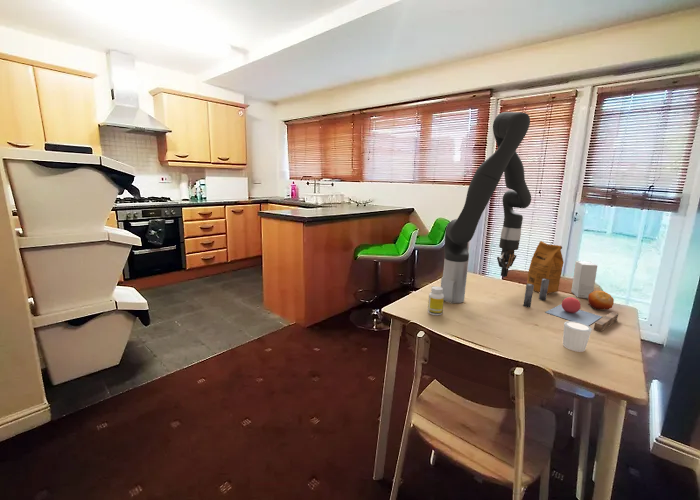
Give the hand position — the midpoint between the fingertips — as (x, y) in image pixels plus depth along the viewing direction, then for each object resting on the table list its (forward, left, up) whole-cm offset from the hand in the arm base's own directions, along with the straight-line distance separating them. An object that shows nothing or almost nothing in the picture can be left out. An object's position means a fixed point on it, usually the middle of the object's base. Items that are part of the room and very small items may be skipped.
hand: (503, 276), depth 141 cm
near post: (-7, -14, -8) cm, 17 cm away
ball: (+1, -27, -5) cm, 27 cm away
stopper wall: (0, -38, -8) cm, 39 cm away
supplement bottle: (-43, +2, -8) cm, 44 cm away
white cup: (-27, -38, -8) cm, 47 cm away
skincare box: (+27, -21, -8) cm, 35 cm away
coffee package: (+19, -8, -8) cm, 22 cm away
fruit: (+16, -31, -8) cm, 36 cm away
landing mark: (0, -28, -8) cm, 29 cm away
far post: (+7, -14, -8) cm, 17 cm away
